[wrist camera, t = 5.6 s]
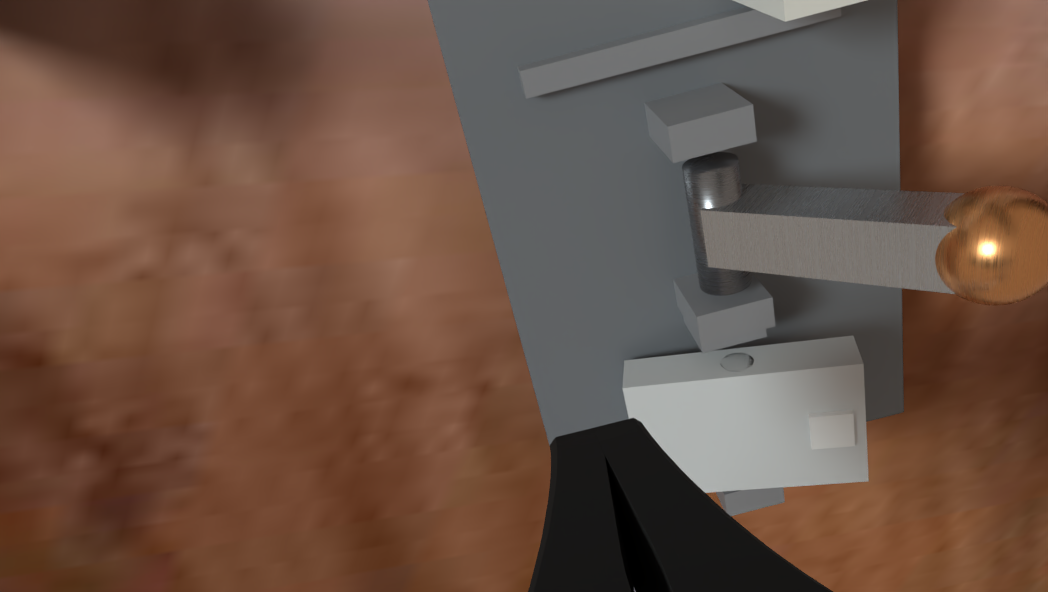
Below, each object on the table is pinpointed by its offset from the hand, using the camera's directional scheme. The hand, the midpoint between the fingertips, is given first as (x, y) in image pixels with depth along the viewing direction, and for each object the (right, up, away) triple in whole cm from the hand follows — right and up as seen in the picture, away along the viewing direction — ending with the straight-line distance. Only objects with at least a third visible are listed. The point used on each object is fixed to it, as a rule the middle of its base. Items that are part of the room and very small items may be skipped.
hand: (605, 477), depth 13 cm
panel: (+3, +6, +9) cm, 11 cm away
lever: (+3, +4, +6) cm, 8 cm away
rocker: (+4, 0, +8) cm, 9 cm away
